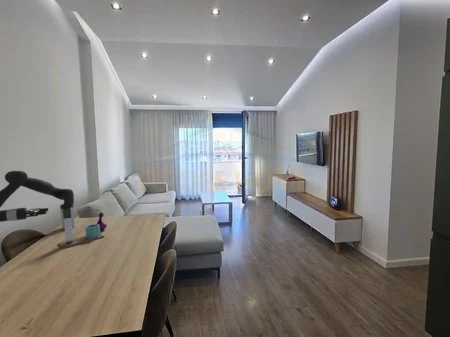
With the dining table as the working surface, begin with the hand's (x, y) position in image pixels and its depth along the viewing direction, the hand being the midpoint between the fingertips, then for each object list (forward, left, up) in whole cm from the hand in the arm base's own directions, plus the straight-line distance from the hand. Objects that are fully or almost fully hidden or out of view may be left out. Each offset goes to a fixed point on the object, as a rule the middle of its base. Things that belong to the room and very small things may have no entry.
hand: (47, 210), depth 173 cm
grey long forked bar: (+4, +11, -25) cm, 27 cm away
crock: (+4, +27, -25) cm, 36 cm away
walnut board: (+4, +19, -26) cm, 32 cm away
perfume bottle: (-8, +37, -26) cm, 45 cm away
